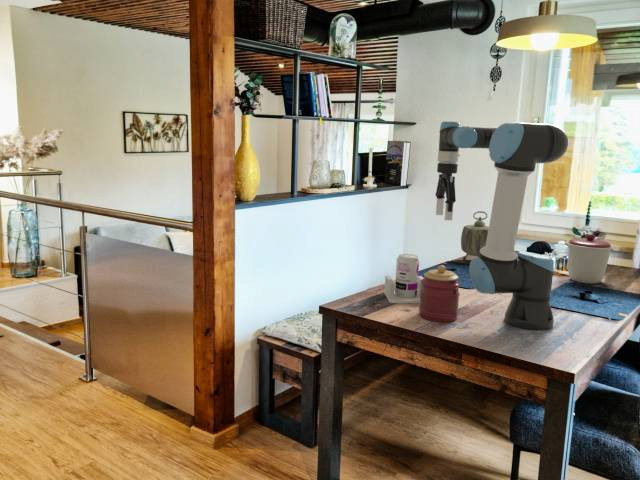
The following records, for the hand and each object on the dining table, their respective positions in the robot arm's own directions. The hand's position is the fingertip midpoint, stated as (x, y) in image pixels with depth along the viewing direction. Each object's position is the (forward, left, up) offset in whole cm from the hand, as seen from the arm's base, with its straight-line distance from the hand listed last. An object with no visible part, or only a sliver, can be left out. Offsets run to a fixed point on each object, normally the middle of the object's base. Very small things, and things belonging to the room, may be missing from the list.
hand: (443, 217), depth 217 cm
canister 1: (-35, +9, -29) cm, 46 cm away
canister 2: (+17, -69, -29) cm, 77 cm away
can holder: (-14, +16, -29) cm, 36 cm away
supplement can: (-14, +16, -28) cm, 35 cm away
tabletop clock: (+51, -32, -29) cm, 67 cm away
